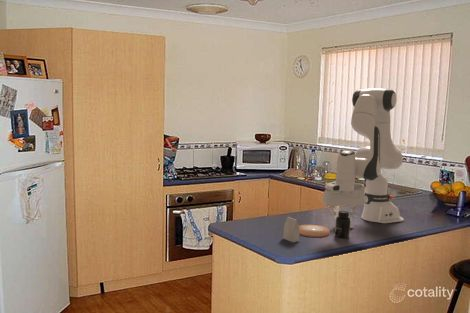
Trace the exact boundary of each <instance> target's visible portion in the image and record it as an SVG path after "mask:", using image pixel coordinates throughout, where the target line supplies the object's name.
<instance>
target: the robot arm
mask: <svg viewBox="0 0 470 313" xmlns="http://www.w3.org/2000/svg"><path fill="white" fill-rule="evenodd" d="M351 102H352V106H353V111H352V114H351V120H350V121H351V122H350V124H351V128H352V129H353V130H354V131H355V132H356V133H357V134H358V135H360V136H363V137H365V138H366V139H368V141H369V144H370V145H368V146H360V147H359V148H357V150H356V152H354V151H353V150H343V151H339V153H338V156H337V160H336V169H335V170H336V176H335V180H334V181H330V182H329V183H326V184H325V186H324V188H325V190H324V192H323V194H322V204H323V206H325V207H329V210H330V211H331V214H330V215H331V216H334V215H336V212H335V211H334V210H333V208H334V207H338V206H340V207H352V208H351V210H349V216H355V212H356V210H357V208H358V207H361V206H363V210H362V213H361V217H360V218H361V219H362V220H364V221H367V222H373V223H380V224H390V223H392V224H393V223H399V222H404V221H405V220H404V218H403V217H402V216H401V214H400V209H399V207H397V206H396V205H395V204H394V203H393V202H392V201H390V200H393V199H394V195H391V194H388V185H389V183H388V182H389V181H388V178H387V177H386V176H385V175H383V173H382V172H381V169H383V170H397V169H400V167H401V166H402V164H403V161H404V157H403V154H402V152H401V151H400V150H399V149H398V148H397V147H396V146H395V144H394V142H393V139H392V135H391V110H393V109H394V108H395V107H396V103H397V94H396V92H395V91H394V90H393V89H392V88H391V89H389V88H376V87H375V88H365V89H364V88H360V89H356V90H355V91H354V92H353V93H352V99H351ZM356 178H357V179H363V180H365V187H364V186H362V185H355V183H356Z"/></svg>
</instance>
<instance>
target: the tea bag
mask: <svg viewBox="0 0 470 313" xmlns="http://www.w3.org/2000/svg"><path fill="white" fill-rule="evenodd" d="M299 226H300V225H299V222H298V219H295V218H292V217H290V216H287V217H286V220H285V222H284V225H283V239H284V240H285V241H288V242H291V243H296V242H300V235H301V234H300V228H299Z"/></svg>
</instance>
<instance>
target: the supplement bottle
mask: <svg viewBox="0 0 470 313" xmlns="http://www.w3.org/2000/svg"><path fill="white" fill-rule="evenodd" d="M338 215H339V216H338V217H337V218H336V220H335V227H334V236H335V237H336V238H338V239H349V237H350V231H351V228H350V221H351V220H352V219H351V218H350V217H349V216H350V211H348V210H341V211H339V213H338Z"/></svg>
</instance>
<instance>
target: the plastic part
mask: <svg viewBox="0 0 470 313" xmlns="http://www.w3.org/2000/svg"><path fill="white" fill-rule="evenodd" d="M340 207H341V206H334V208H333V210H334V211H335V212H336V215H333V217H334V220H335V221H336V218H337V217H338V216H339V215H338V213H339V211H342V210H341V208H340ZM350 220H351V221H350V229H351V228H353V226H354V220H353V219H350Z"/></svg>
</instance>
